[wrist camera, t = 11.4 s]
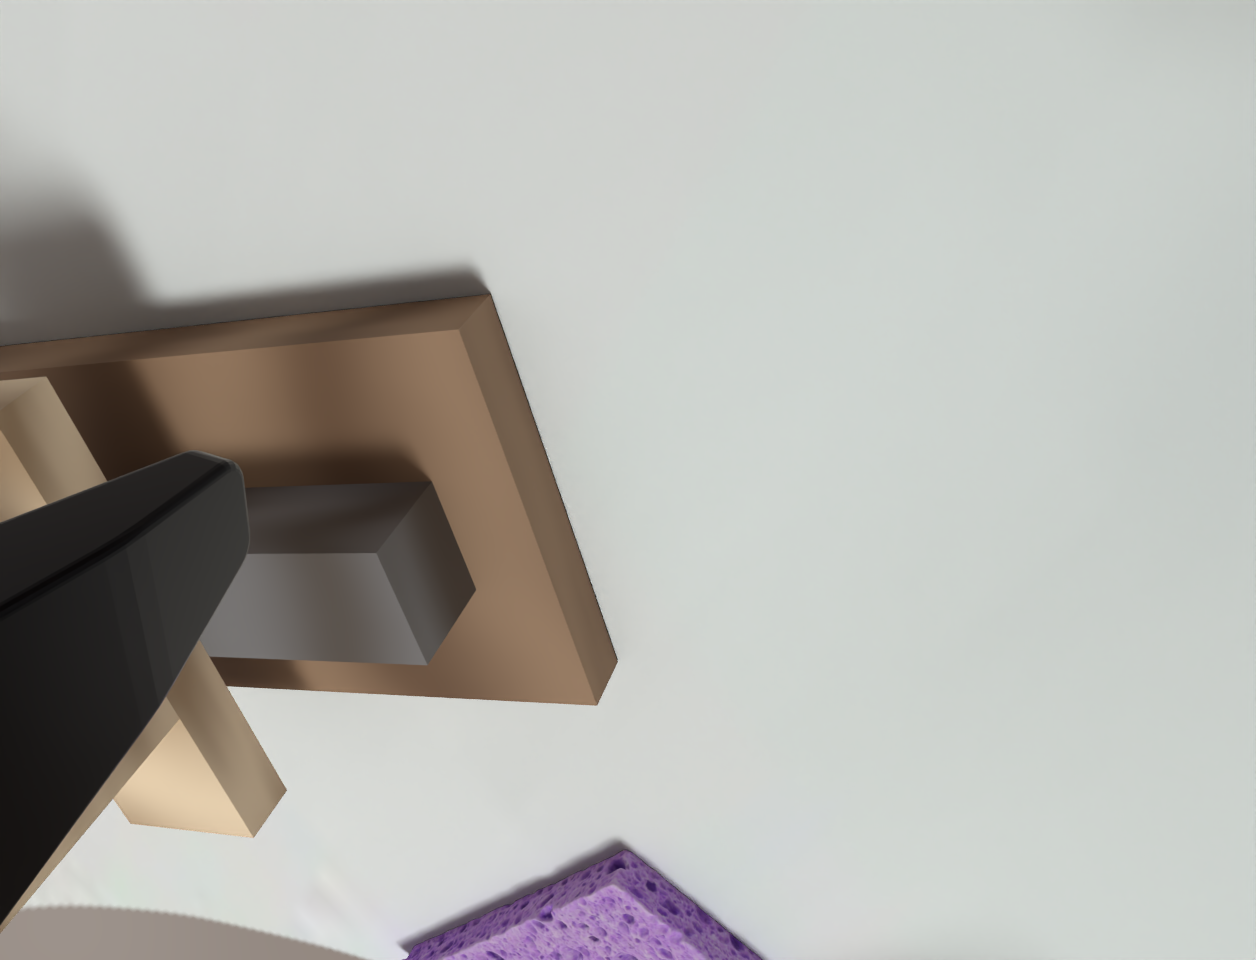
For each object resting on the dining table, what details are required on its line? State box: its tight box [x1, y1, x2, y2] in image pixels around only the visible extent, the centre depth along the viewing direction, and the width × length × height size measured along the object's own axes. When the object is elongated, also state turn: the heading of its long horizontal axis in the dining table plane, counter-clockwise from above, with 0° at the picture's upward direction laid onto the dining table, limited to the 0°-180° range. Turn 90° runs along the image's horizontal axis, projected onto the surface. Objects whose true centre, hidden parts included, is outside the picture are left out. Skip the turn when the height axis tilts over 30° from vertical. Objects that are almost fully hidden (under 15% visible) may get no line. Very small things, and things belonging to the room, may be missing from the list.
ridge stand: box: [0, 294, 618, 705], centre depth 29 cm, size 20×10×4 cm, turn 105°
